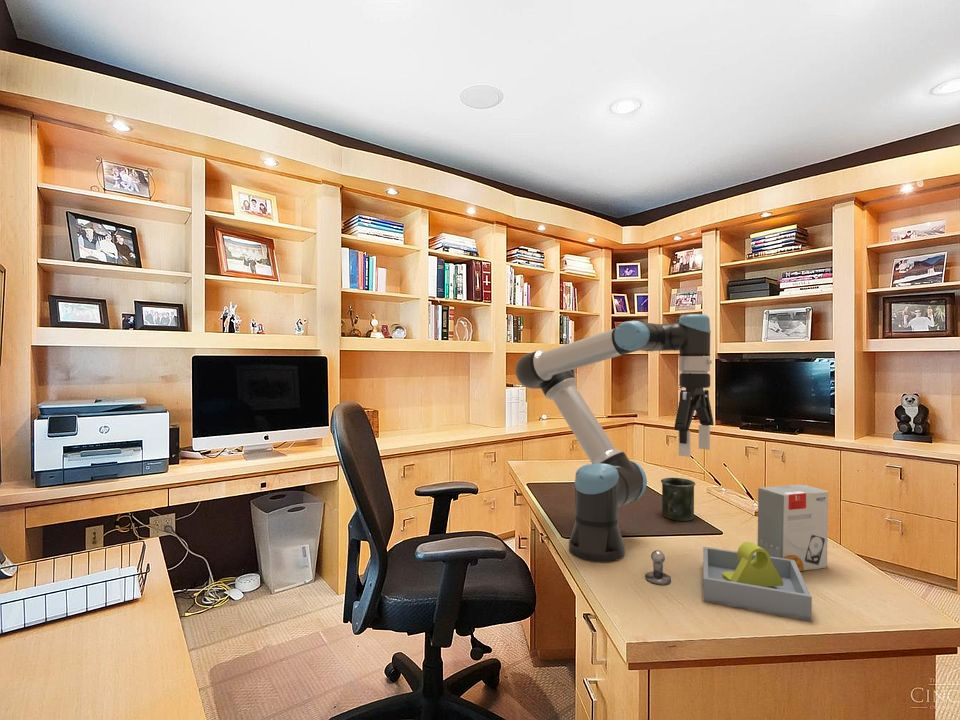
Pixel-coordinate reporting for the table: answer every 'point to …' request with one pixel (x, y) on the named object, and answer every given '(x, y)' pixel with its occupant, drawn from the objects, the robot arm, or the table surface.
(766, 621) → the table surface
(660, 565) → the ball stud
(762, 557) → the bracket
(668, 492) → the mug
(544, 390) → the robot arm
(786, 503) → the hard drive box
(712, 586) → the bin
